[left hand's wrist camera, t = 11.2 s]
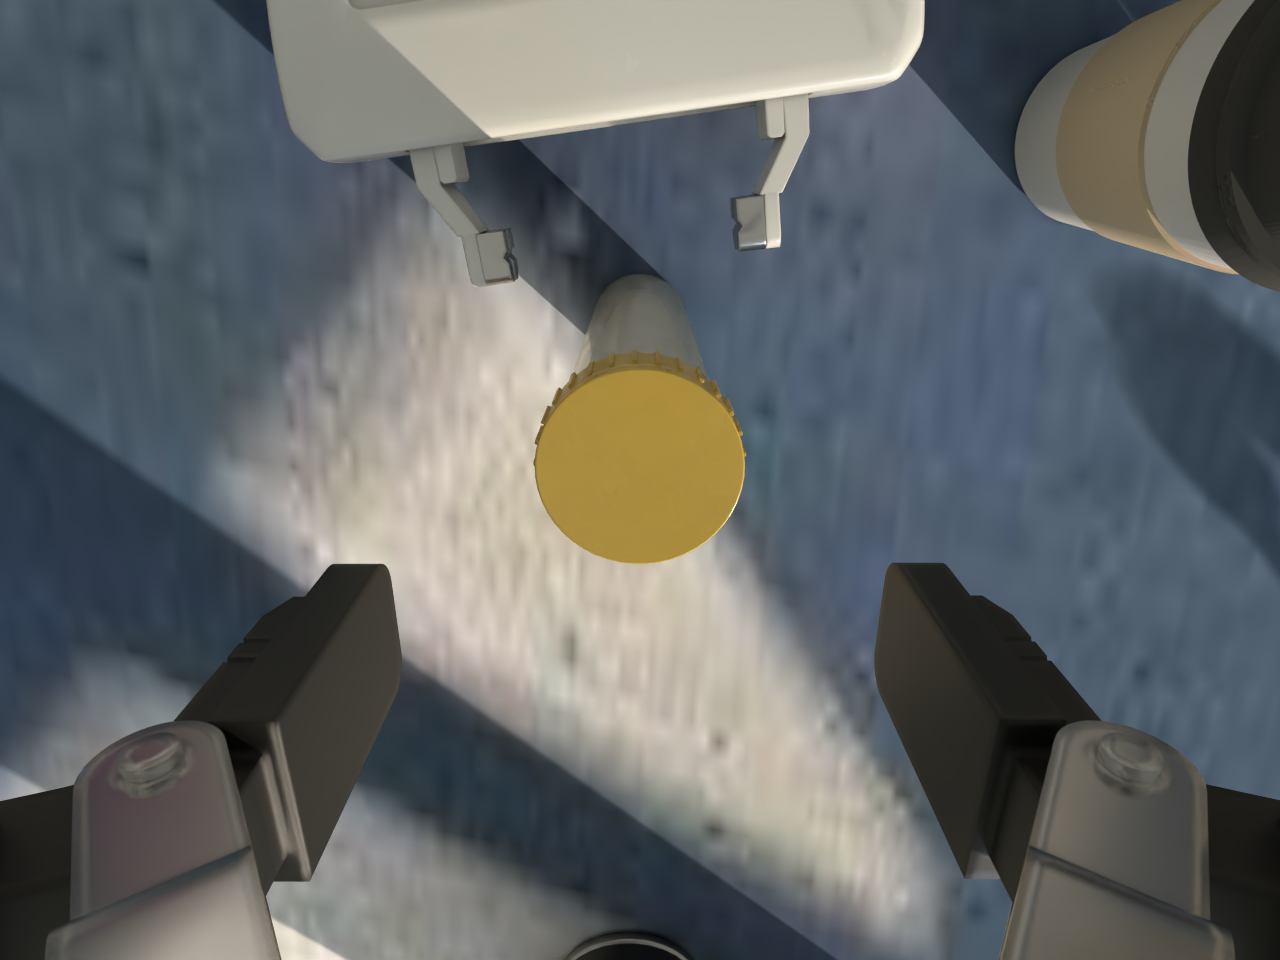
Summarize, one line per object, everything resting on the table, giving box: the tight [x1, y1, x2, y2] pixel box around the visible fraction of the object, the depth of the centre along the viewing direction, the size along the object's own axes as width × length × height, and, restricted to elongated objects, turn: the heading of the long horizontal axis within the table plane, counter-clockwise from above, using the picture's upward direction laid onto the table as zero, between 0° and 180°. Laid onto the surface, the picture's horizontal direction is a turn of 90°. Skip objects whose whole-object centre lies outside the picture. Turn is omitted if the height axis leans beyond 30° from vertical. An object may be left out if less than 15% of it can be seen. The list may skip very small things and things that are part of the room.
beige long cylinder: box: [573, 274, 709, 379], centre depth 26 cm, size 4×4×18 cm
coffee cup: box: [1015, 0, 1280, 292], centre depth 24 cm, size 9×9×15 cm
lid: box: [534, 349, 746, 564], centre depth 18 cm, size 5×5×2 cm
